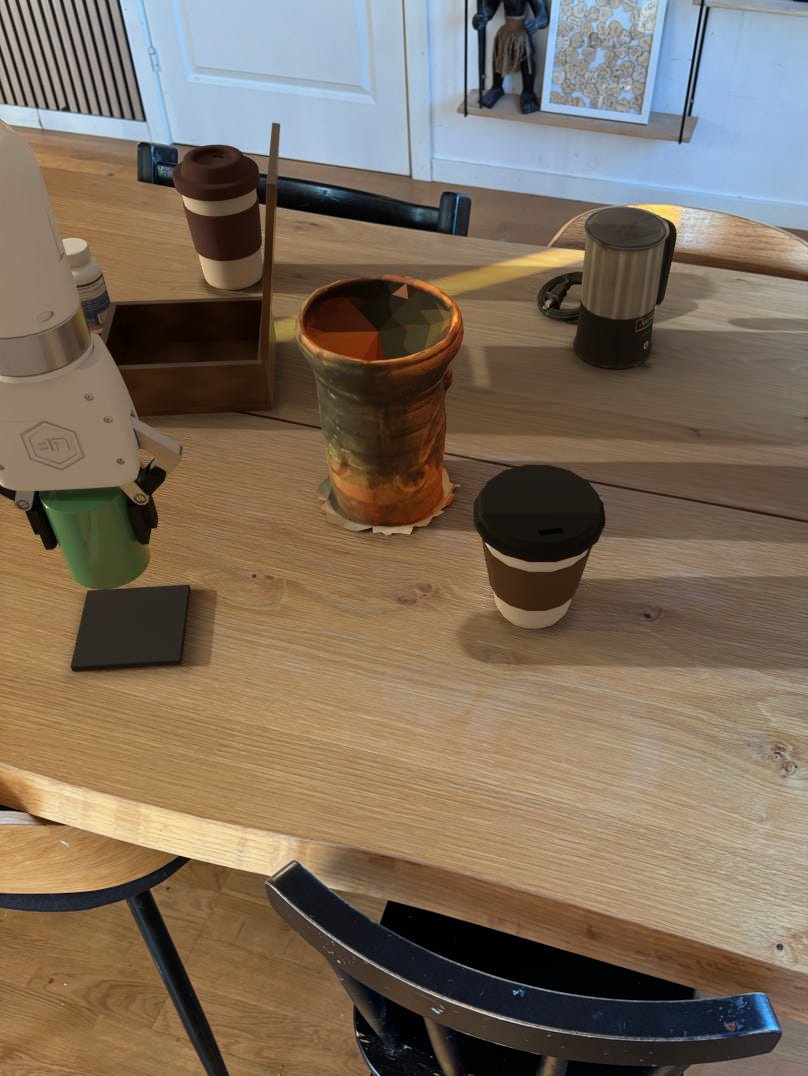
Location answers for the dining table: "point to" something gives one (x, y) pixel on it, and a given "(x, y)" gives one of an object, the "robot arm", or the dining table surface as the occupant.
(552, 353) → the dining table surface
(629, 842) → the dining table surface
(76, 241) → the pill bottle
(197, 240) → the coffee cup
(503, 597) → the coffee cup
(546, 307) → the milk frother
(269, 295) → the lid
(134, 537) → the green cylinder
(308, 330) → the vessel
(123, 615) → the mat
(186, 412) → the chest
